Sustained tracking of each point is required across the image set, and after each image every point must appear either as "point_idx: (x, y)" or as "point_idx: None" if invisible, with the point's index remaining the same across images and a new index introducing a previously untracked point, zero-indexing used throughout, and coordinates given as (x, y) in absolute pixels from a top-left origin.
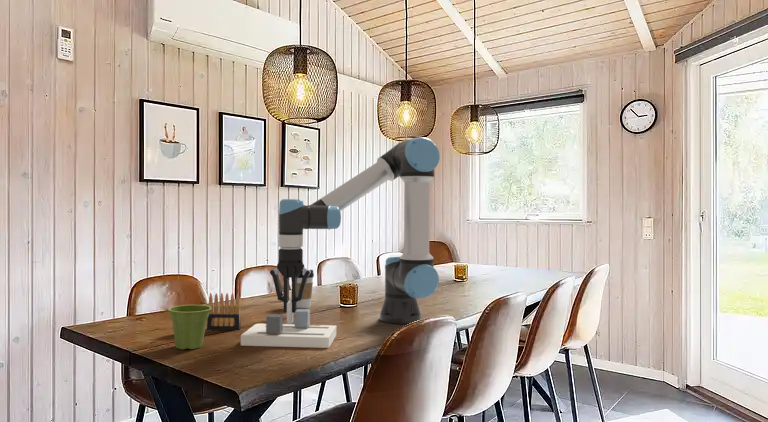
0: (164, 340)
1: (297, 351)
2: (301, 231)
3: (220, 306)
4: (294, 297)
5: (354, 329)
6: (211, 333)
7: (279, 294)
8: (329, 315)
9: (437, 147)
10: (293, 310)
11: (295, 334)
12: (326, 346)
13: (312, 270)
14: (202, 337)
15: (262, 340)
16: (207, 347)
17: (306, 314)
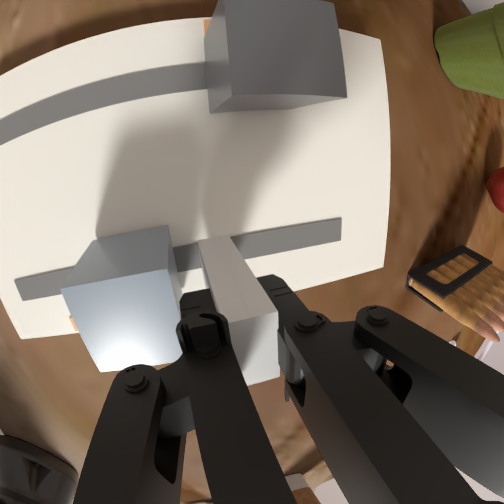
0: (494, 127)
1: (90, 2)
2: None
3: (494, 286)
4: (200, 384)
5: (40, 391)
6: (454, 208)
7: (408, 345)
8: (200, 472)
9: None
10: (198, 300)
11: (111, 75)
12: None
13: None
14: (452, 39)
15: None
16: (422, 42)
17: (75, 275)
